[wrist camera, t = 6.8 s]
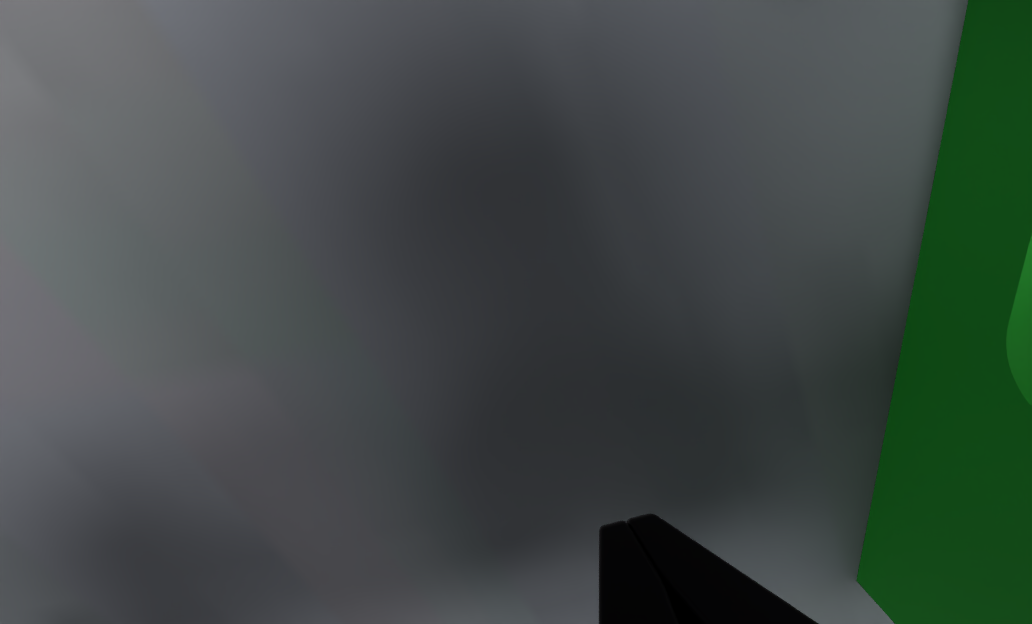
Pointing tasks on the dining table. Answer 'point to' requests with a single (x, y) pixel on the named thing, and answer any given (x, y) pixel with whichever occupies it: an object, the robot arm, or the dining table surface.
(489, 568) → the dining table surface
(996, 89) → the mechanical part
